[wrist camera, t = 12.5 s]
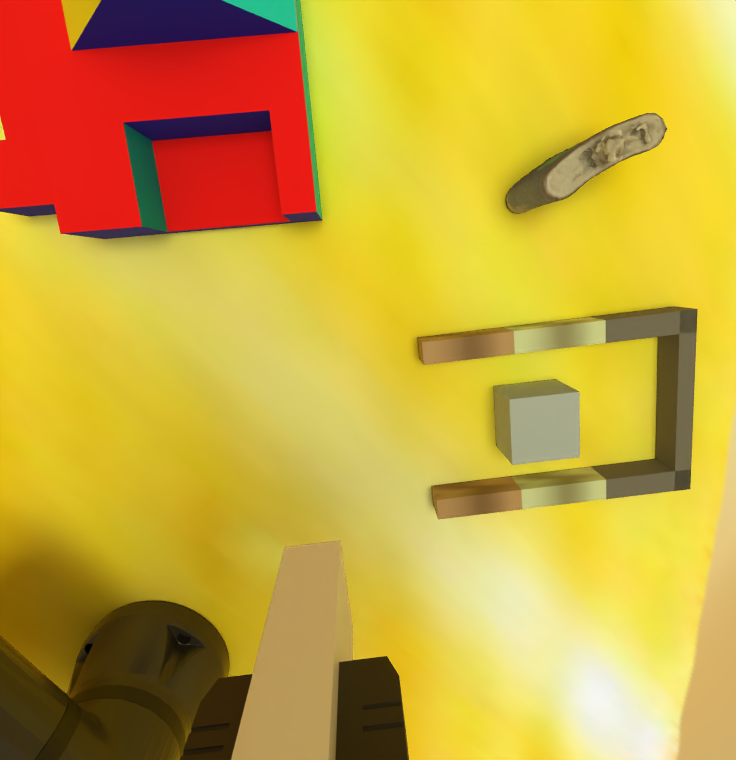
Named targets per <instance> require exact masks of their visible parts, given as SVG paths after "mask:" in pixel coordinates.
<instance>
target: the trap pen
mask: <svg viewBox="0 0 736 760" xmlns="http://www.w3.org/2000/svg"><path fill="white" fill-rule="evenodd" d="M592 318H597V319H602V320H606V343H609V342H618V341H626V340H634V339H642V338H651V337H658V362H657V408H656V455H655V459H651V460H642V461H634V462H626V463H618V464H609V465H601V466H593V467H592V468H593V469H594V470H595V471H596V472H598V473H599V474H600V475H601V476H602V477H604V478H605V479H606V499H611V498H619V497H628V496H636V495H644V494H652V493H661V492H669V491H677V490H686V489H690V482H691V457H692V432H693V407H694V382H695V356H696V331H697V309H692V308H684V307H666V308H658V309H650V310H641V311H633V312H625V313H617V314H608V315H600V316H592Z"/></svg>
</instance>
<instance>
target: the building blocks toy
mask: <svg viewBox="0 0 736 760" xmlns="http://www.w3.org/2000/svg"><path fill="white" fill-rule="evenodd" d="M0 117H1V121H2V125H3V129H4V134H5V138H6V140H0V212H6V213H13V214H19V215H25V216H38V215H50V214H56V215H57V220H58V224H59V229H60V233H61V234H69V235H77V236H85V237H93V238H101V239H108V238H120V237H132V236H143V235H155V234H167V233H178V232H190V231H202V230H214V229H225V228H237V227H249V226H261V225H272V224H284V223H296V222H307V221H319V220H322V213H321V203H320V193H319V183H318V173H317V163H316V153H315V143H314V133H313V123H312V113H311V103H310V93H309V83H308V73H307V63H306V53H305V44H304V34H303V24H302V14H301V4H300V0H0ZM132 128H133V129H132ZM124 130H125V131H124ZM263 131H265V132H263ZM251 132H253V133H251ZM239 133H241V134H239ZM227 134H229V135H227ZM143 135H144V136H143ZM215 135H217V136H215ZM203 136H205V137H203ZM191 137H194V138H191ZM179 138H182V139H179ZM167 139H170V140H167ZM155 140H158V141H155ZM126 141H127V142H126ZM128 152H129V153H128ZM130 163H131V164H130ZM131 168H132V169H131ZM132 174H133V175H132ZM133 179H134V180H133ZM134 185H135V186H134ZM135 190H136V191H135ZM136 196H137V197H136ZM137 201H138V202H137ZM139 212H140V213H139ZM141 223H142V224H141ZM166 231H167V232H166Z"/></svg>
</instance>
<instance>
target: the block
mask: <svg viewBox="0 0 736 760" xmlns="http://www.w3.org/2000/svg"><path fill="white" fill-rule="evenodd" d="M493 390H494V411H495V431H496V445H497V447H498V448H499V449H500V450H501V452H502V453H503V454H504V455H505V457H506V458H507V459H508V460H509V461H510V463H511V464H512V465H515V464H524V463H533V462H542V461H551V460H560V459H569V458H577V457H580V426H579V391H577V390H575V389H573V388H571V387H569V386H568V385H566V384H564V383H562V382H560V381H558V380H556V379H552V380H543V381H534V382H525V383H516V384H507V385H498V386H493Z"/></svg>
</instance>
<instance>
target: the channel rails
mask: <svg viewBox="0 0 736 760" xmlns="http://www.w3.org/2000/svg"><path fill="white" fill-rule="evenodd" d="M601 343H606V320H602V319H597V318H592V317H584V318H575V319H567V320H559V321H550V322H542V323H534V324H526V325H517V326H509V327H501V328H492V329H484V330H476V331H468V332H459V333H451V334H443V335H435V336H426V337H418V349H419V359H420V360H421V361H422V363H423V364H424V365H427V364H436V363H444V362H452V361H460V360H469V359H477V358H485V357H493V356H502V355H510V354H518V353H527V352H535V351H543V350H551V349H560V348H568V347H576V346H584V345H593V344H601ZM432 497H433V505H434V508H435V511H436V514H437V517H438V519H445V518H454V517H462V516H470V515H478V514H487V513H495V512H503V511H512V510H520V509H528V508H536V507H545V506H553V505H561V504H570V503H578V502H586V501H594V500H603V499H606V479H605V478H604V477H602V476H601V475H600V474H599V473H598V472H596V471H595V470H594V469H593V468H592V467H584V468H576V469H568V470H560V471H551V472H543V473H535V474H526V475H518V476H510V477H502V478H493V479H485V480H477V481H468V482H460V483H452V484H444V485H435V486H432Z"/></svg>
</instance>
